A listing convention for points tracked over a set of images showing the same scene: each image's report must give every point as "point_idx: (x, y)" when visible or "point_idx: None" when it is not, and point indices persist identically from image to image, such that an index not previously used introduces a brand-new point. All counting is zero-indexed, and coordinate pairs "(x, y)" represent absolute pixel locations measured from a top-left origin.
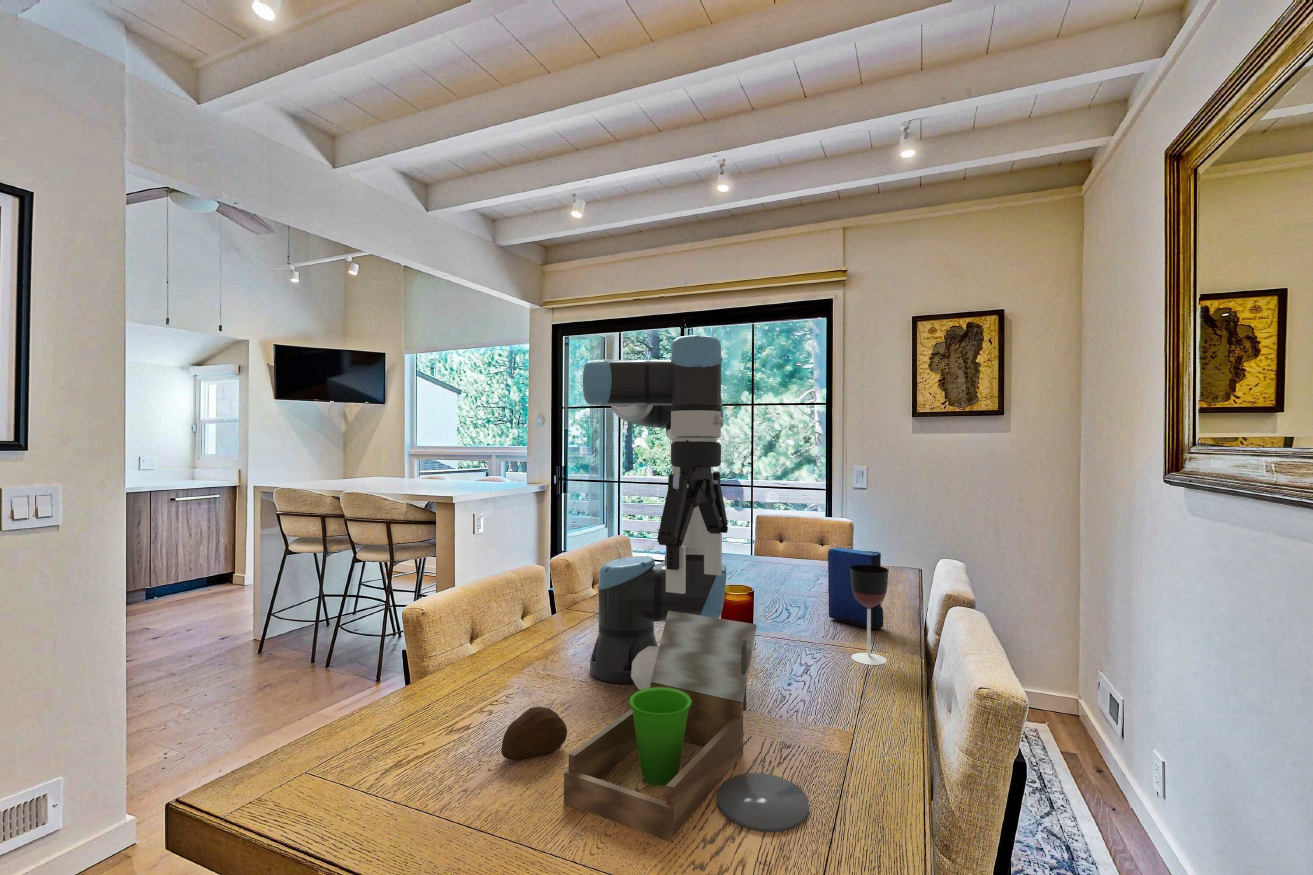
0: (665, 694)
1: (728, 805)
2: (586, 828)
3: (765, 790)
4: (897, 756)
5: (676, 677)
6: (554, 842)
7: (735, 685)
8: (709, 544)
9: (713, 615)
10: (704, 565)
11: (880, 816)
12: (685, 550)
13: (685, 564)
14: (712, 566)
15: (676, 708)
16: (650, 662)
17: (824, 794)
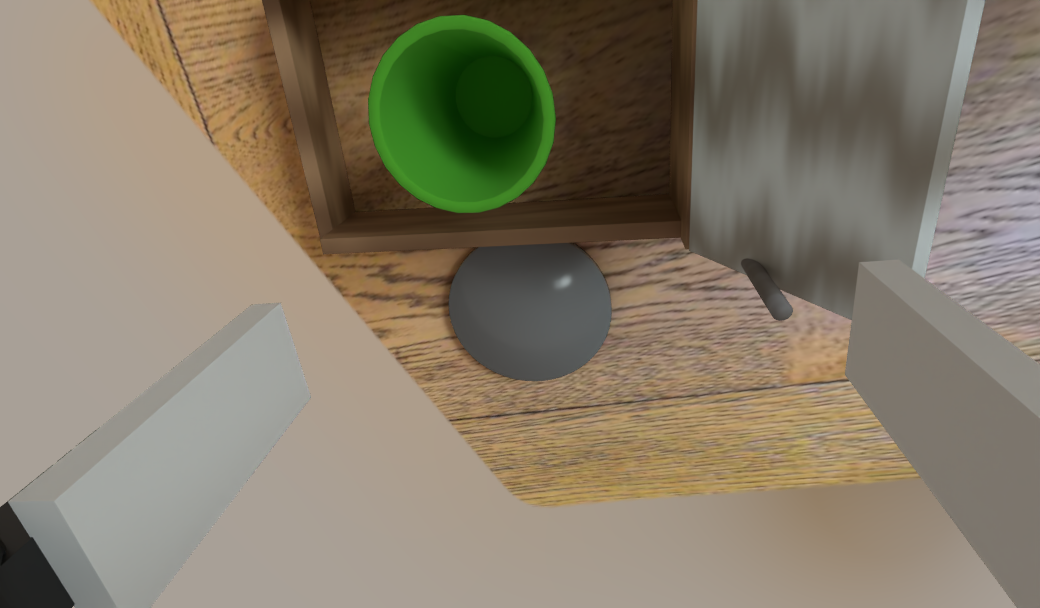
0: (536, 87)
1: (471, 273)
2: (271, 80)
3: (552, 308)
4: (819, 455)
5: (720, 10)
6: (206, 57)
7: (718, 235)
8: (996, 445)
9: None
10: (888, 291)
11: (601, 457)
12: (155, 596)
13: (223, 509)
14: (879, 353)
15: (539, 125)
16: None
17: (616, 381)
